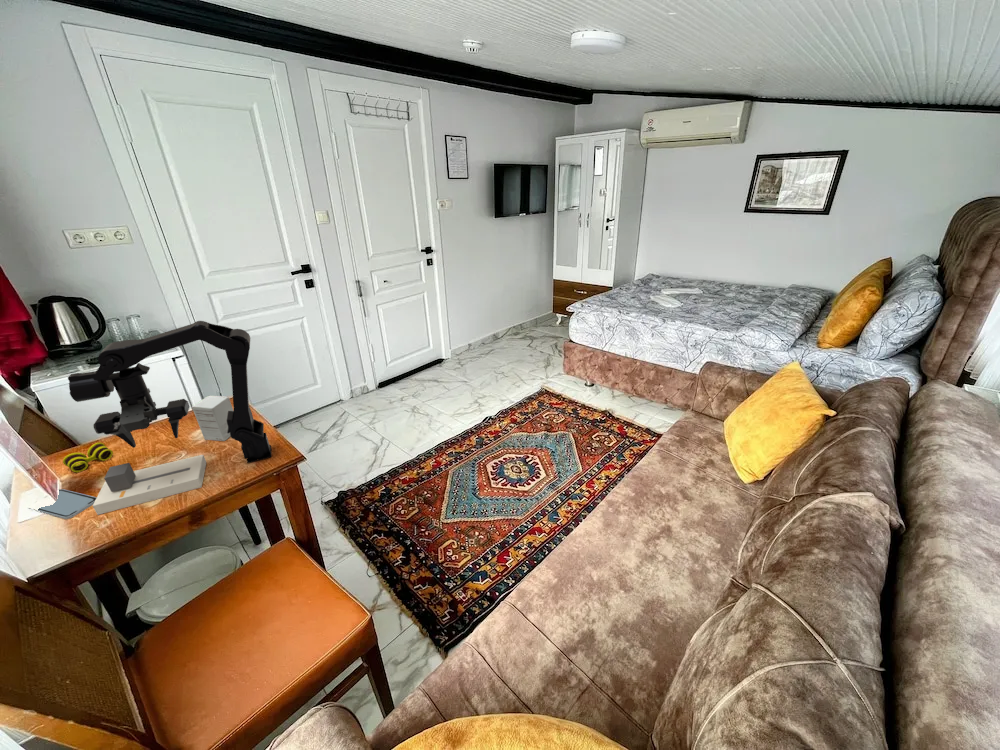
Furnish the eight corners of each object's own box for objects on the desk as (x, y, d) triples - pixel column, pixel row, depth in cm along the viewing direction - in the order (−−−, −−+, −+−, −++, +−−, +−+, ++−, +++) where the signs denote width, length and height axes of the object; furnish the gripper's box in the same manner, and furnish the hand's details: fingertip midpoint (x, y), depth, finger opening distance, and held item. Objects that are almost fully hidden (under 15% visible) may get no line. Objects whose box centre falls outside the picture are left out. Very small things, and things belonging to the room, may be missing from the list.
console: (206, 462, 121) (203, 454, 120) (201, 487, 112) (197, 478, 110) (111, 485, 112) (107, 477, 111) (97, 514, 102) (92, 505, 101)
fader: (135, 475, 111) (129, 462, 109) (131, 487, 107) (124, 473, 105) (117, 480, 109) (110, 467, 107) (111, 492, 105) (104, 478, 103)
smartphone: (60, 488, 111) (99, 497, 107) (62, 491, 111) (101, 500, 107) (25, 507, 104) (66, 518, 101) (27, 510, 105) (68, 521, 101)
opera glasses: (75, 477, 117) (69, 464, 114) (65, 469, 118) (59, 456, 116) (116, 458, 124) (111, 446, 122) (106, 451, 126) (101, 438, 123)
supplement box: (220, 427, 138) (208, 394, 132) (240, 429, 137) (229, 396, 132) (203, 439, 132) (190, 406, 126) (224, 441, 131) (212, 407, 125)
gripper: (72, 415, 93) (102, 469, 100) (172, 397, 101) (193, 448, 108) (89, 394, 102) (115, 445, 109) (179, 379, 110) (198, 427, 116)
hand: (156, 442), depth 110 cm, fingers open, 9 cm apart
